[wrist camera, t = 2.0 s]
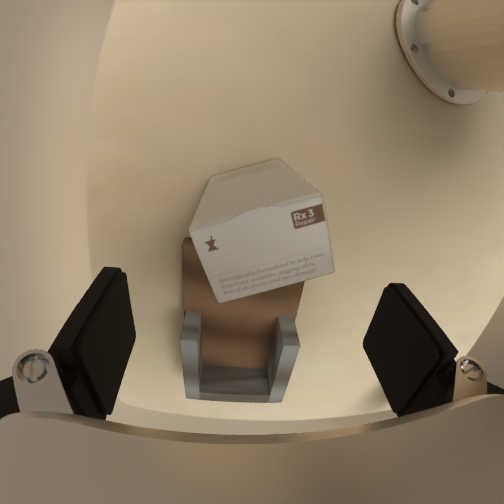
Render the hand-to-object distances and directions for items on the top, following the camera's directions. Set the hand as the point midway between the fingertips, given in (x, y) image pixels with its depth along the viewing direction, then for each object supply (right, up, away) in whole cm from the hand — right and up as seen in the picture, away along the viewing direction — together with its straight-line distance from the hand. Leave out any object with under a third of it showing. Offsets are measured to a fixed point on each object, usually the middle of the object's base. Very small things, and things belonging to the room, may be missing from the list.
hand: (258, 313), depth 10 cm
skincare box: (0, +7, +14) cm, 16 cm away
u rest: (-2, -5, +20) cm, 21 cm away
